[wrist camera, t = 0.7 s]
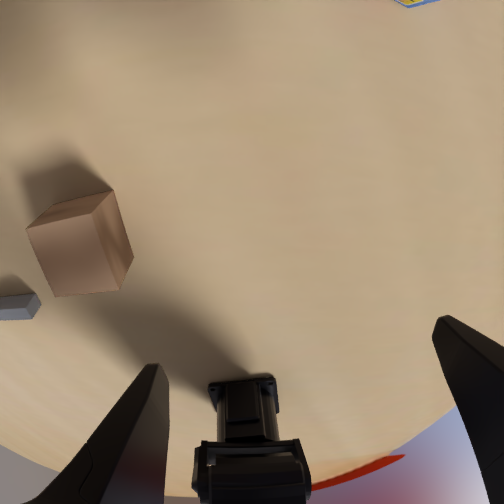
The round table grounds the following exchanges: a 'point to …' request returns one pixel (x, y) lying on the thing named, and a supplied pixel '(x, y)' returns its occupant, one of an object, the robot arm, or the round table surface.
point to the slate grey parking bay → (19, 307)
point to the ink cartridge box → (414, 2)
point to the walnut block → (82, 245)
